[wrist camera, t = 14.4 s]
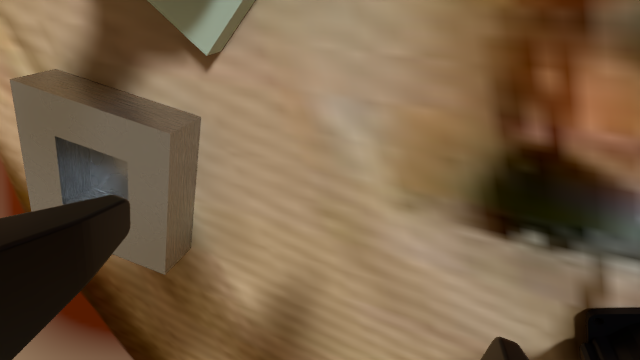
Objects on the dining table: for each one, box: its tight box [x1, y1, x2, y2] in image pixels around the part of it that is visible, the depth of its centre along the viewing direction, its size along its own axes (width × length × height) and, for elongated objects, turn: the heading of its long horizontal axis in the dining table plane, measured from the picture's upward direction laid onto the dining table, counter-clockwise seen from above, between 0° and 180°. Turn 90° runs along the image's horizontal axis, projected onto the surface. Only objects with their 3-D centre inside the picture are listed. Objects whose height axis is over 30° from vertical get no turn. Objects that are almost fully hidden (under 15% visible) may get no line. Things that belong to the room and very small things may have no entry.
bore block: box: [10, 69, 201, 275], centre depth 25 cm, size 10×10×3 cm
